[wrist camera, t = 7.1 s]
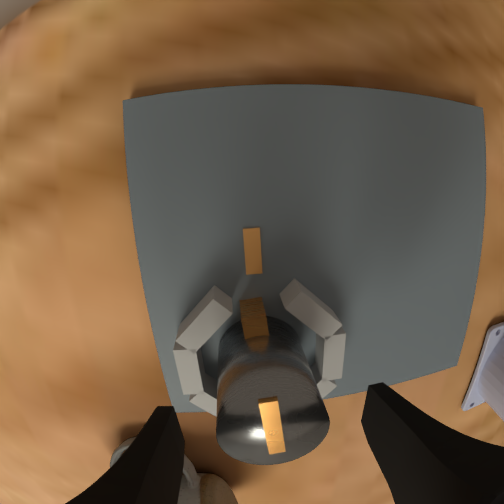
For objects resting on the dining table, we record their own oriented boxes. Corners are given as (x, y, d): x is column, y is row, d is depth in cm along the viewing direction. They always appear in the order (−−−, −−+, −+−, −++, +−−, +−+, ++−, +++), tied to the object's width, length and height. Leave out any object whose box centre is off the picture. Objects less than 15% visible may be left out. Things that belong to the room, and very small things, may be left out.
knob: (302, 374, 16) (330, 457, 10) (226, 387, 16) (229, 474, 10) (294, 291, 14) (331, 365, 9) (206, 305, 14) (196, 388, 9)
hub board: (473, 108, 13) (500, 106, 11) (450, 359, 18) (468, 377, 15) (128, 103, 12) (110, 93, 10) (175, 403, 17) (171, 431, 14)
